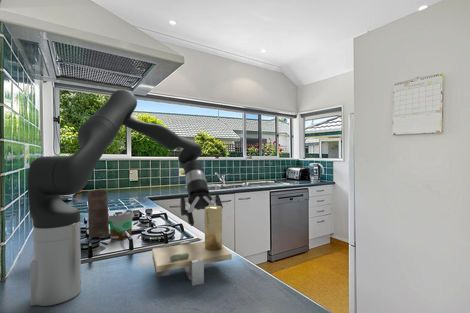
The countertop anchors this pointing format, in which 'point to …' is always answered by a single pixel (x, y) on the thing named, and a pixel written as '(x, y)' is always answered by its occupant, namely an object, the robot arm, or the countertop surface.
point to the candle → (98, 213)
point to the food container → (120, 225)
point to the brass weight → (213, 228)
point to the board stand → (195, 270)
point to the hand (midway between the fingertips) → (205, 223)
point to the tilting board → (185, 256)
